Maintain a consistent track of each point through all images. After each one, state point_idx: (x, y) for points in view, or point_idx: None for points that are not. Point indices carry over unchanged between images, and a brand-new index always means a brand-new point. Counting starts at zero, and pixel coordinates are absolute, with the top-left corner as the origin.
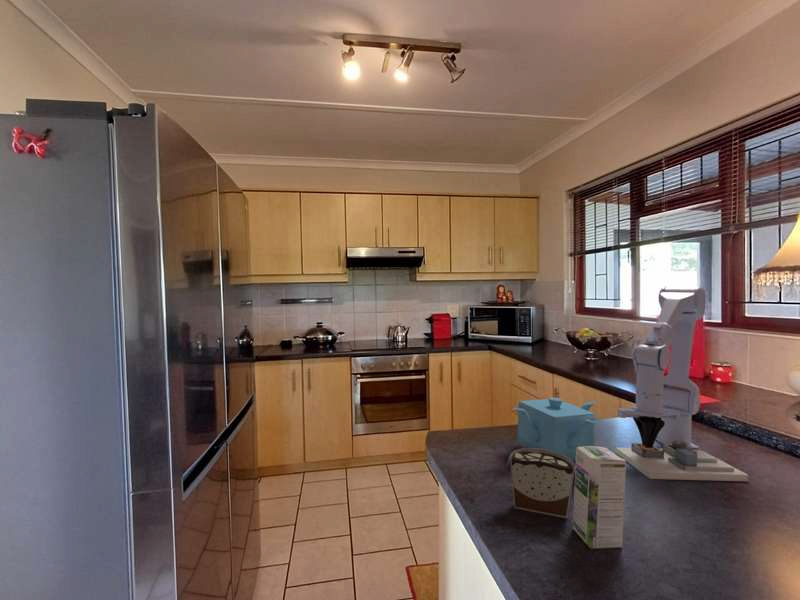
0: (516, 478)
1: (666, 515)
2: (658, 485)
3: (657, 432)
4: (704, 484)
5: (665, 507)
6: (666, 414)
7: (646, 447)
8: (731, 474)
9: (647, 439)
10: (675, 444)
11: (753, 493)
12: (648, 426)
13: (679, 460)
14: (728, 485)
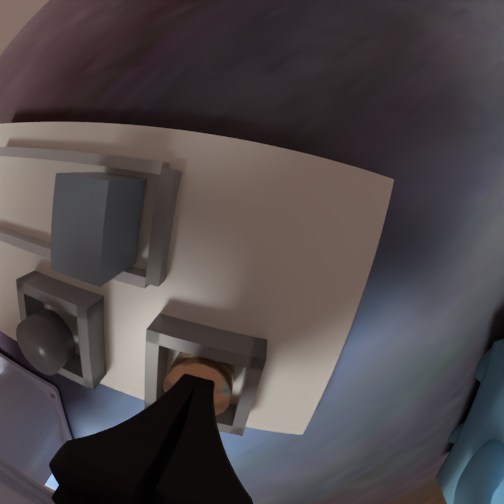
0: None
1: (484, 7)
2: (392, 120)
3: (134, 425)
4: (161, 92)
5: (467, 23)
6: (6, 499)
7: (216, 384)
8: (26, 123)
9: (213, 412)
10: (58, 347)
11: (66, 42)
12: (214, 483)
13: (131, 235)
14: (80, 89)
